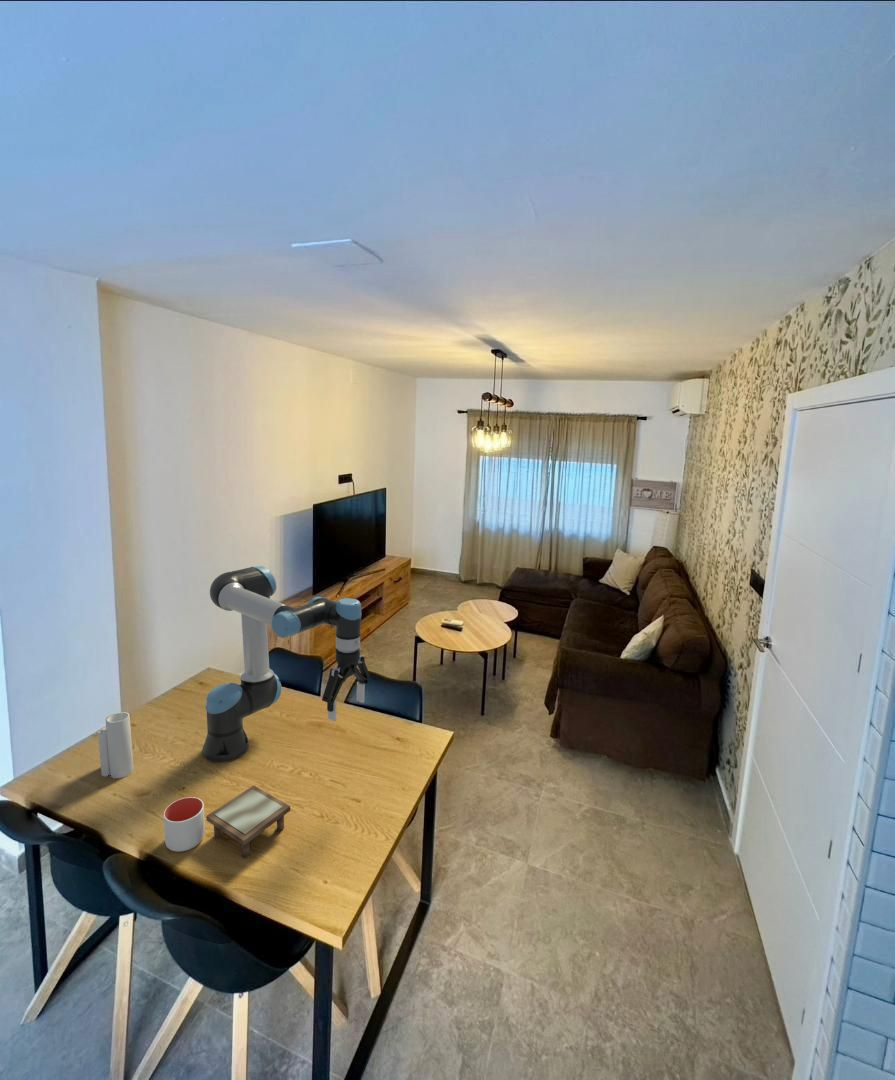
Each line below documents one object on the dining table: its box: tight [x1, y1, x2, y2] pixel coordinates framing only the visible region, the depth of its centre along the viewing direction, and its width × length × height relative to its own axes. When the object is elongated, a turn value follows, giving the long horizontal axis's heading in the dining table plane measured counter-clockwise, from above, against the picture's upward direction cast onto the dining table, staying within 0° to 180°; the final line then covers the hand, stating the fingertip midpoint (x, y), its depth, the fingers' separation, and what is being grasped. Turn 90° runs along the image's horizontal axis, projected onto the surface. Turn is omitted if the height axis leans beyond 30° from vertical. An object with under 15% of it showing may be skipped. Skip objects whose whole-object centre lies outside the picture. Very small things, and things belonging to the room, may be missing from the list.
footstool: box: [206, 785, 291, 859], centre depth 151 cm, size 16×16×7 cm
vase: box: [97, 711, 134, 779], centre depth 173 cm, size 11×7×20 cm, turn 72°
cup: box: [163, 796, 206, 853], centre depth 147 cm, size 10×10×10 cm
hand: (346, 710), depth 169 cm, fingers open, 13 cm apart
